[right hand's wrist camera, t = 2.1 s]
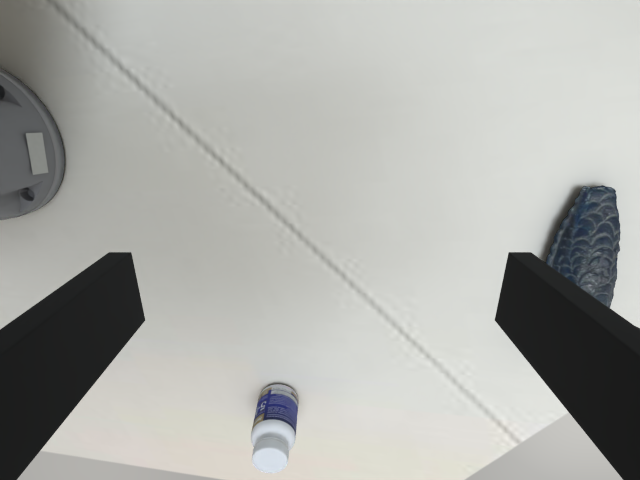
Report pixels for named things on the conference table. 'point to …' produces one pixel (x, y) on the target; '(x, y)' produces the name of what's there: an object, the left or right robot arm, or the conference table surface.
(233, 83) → the conference table surface
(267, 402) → the pill bottle
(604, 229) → the fish model
